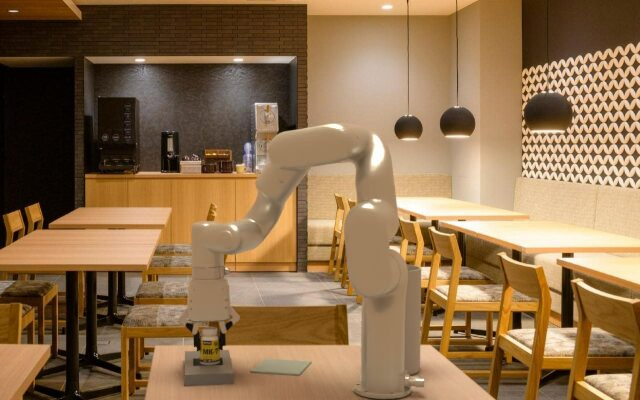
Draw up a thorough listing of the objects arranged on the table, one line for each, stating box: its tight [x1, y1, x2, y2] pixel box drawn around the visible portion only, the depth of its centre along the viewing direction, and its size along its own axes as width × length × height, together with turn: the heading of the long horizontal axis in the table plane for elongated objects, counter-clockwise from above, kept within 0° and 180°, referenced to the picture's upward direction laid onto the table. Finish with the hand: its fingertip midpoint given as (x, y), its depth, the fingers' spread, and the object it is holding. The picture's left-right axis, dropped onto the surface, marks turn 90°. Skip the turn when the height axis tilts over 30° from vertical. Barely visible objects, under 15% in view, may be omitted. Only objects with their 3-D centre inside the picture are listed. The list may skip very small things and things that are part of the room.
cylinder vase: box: [404, 264, 422, 376], centre depth 203 cm, size 12×12×25 cm
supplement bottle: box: [200, 326, 220, 365], centre depth 202 cm, size 5×5×8 cm
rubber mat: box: [250, 358, 312, 377], centre depth 206 cm, size 12×12×1 cm
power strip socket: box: [184, 349, 235, 387], centre depth 202 cm, size 22×11×3 cm, turn 9°
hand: (209, 348), depth 202 cm, fingers closed on supplement bottle, 4 cm apart
